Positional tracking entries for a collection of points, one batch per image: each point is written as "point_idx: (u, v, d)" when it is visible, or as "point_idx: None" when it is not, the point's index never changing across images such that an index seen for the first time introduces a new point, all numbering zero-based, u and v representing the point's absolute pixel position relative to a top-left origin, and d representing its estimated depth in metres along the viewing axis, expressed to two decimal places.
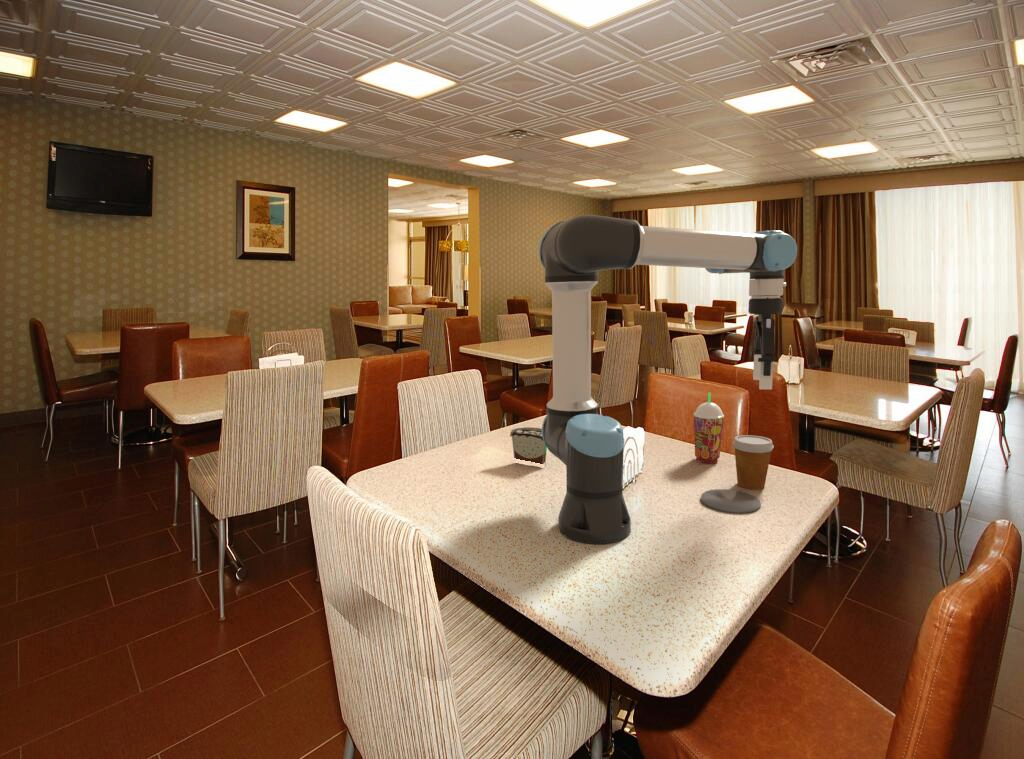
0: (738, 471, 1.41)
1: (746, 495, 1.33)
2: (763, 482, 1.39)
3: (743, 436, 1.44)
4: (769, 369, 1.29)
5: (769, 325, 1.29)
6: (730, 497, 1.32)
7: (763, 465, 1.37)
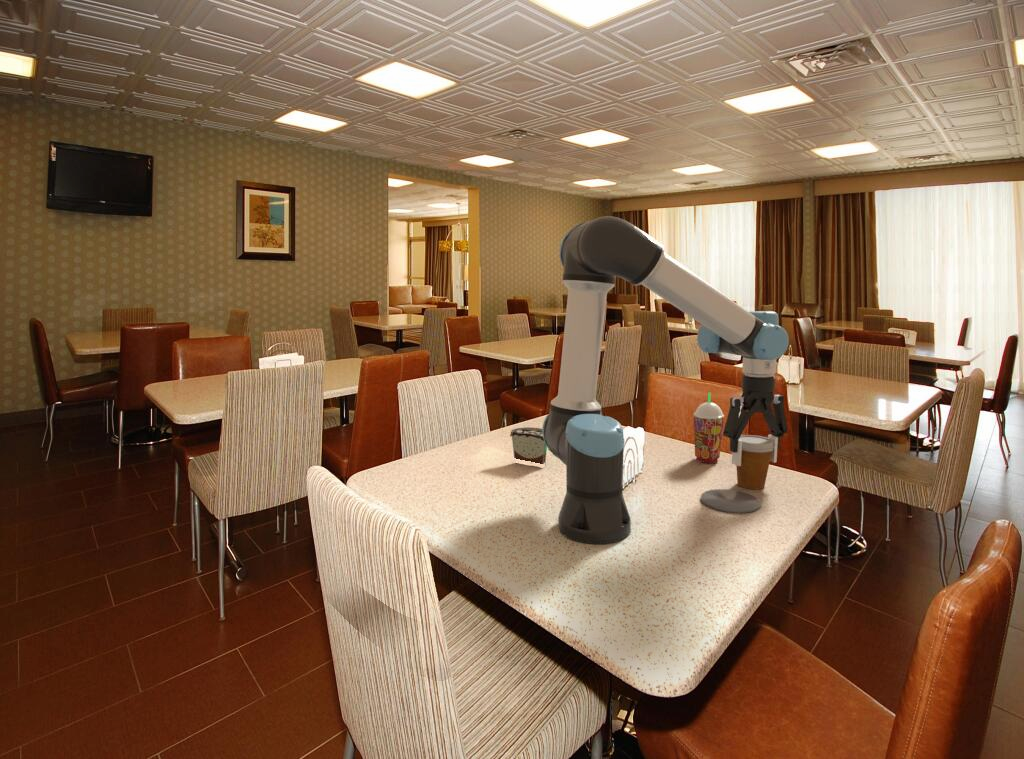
0: (738, 471, 1.41)
1: (746, 495, 1.33)
2: (763, 481, 1.39)
3: (744, 436, 1.44)
4: (732, 446, 1.38)
5: (733, 404, 1.36)
6: (730, 497, 1.32)
7: (763, 465, 1.37)
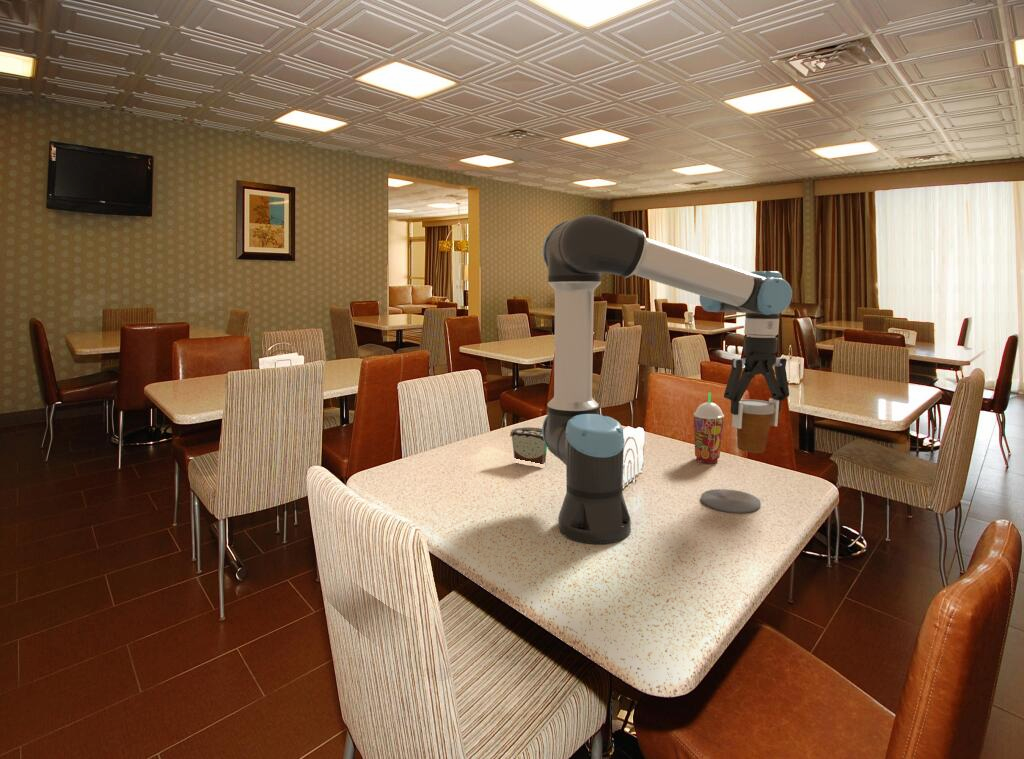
0: (739, 434, 1.39)
1: (746, 495, 1.33)
2: (764, 445, 1.37)
3: (745, 400, 1.42)
4: (733, 408, 1.36)
5: (735, 365, 1.35)
6: (730, 497, 1.32)
7: (764, 428, 1.35)
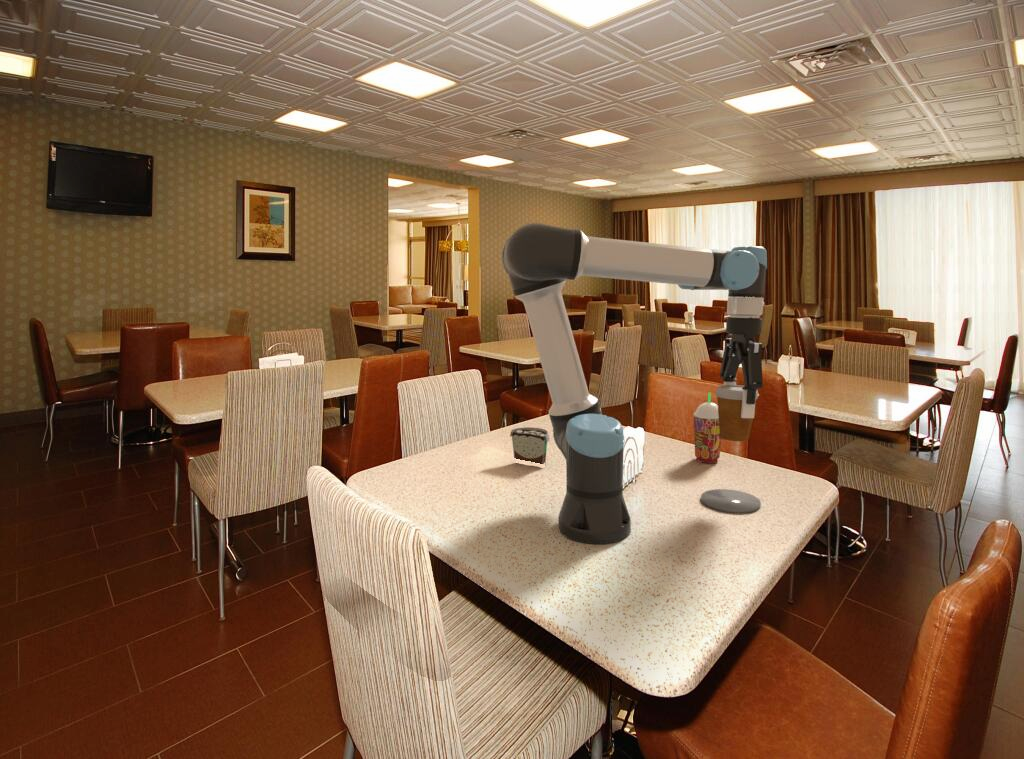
0: (740, 425, 1.27)
1: (746, 495, 1.33)
2: None
3: None
4: (754, 397, 1.23)
5: (757, 350, 1.21)
6: (730, 497, 1.32)
7: None
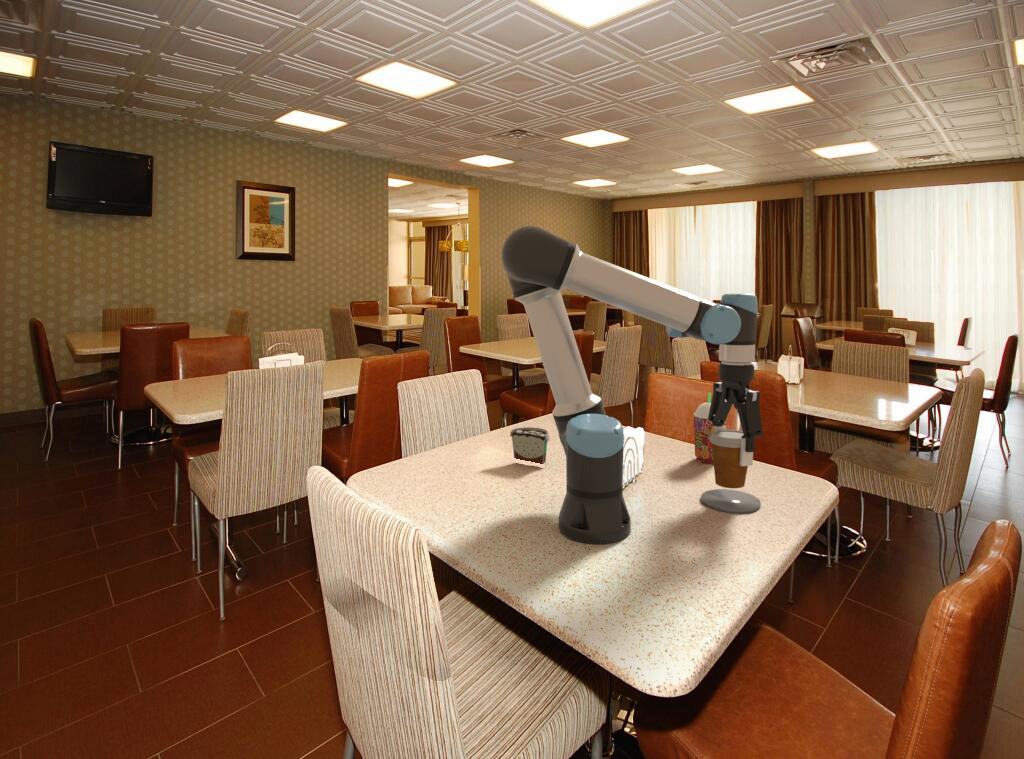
0: (738, 472, 1.26)
1: (746, 495, 1.33)
2: None
3: (716, 435, 1.27)
4: (753, 445, 1.22)
5: (755, 398, 1.20)
6: (730, 497, 1.32)
7: None
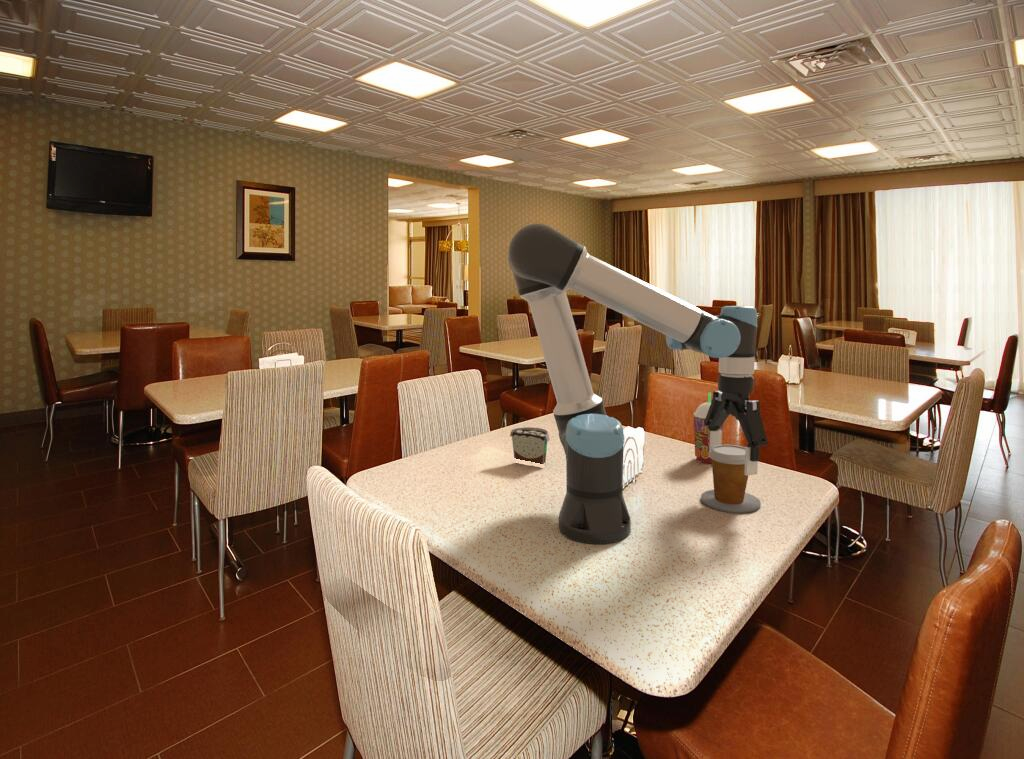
0: (737, 488, 1.26)
1: (746, 495, 1.33)
2: None
3: (716, 451, 1.28)
4: (758, 454, 1.21)
5: (755, 407, 1.21)
6: None
7: None
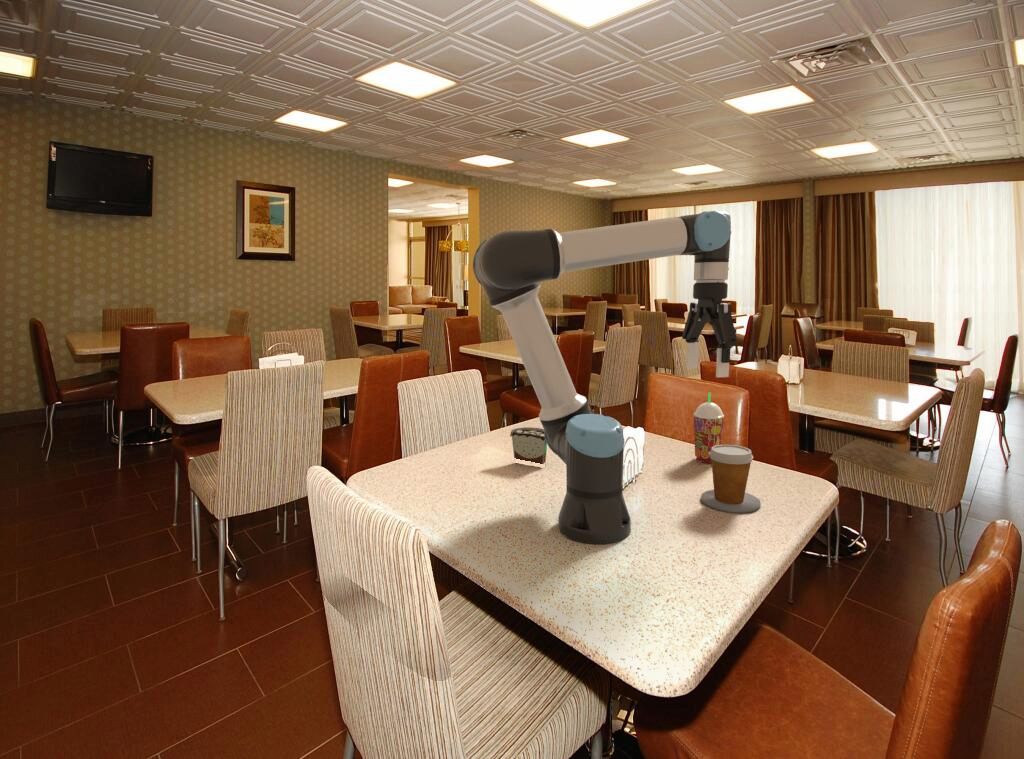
0: (737, 488, 1.26)
1: (746, 495, 1.33)
2: None
3: None
4: (729, 356, 1.23)
5: (726, 310, 1.23)
6: None
7: None
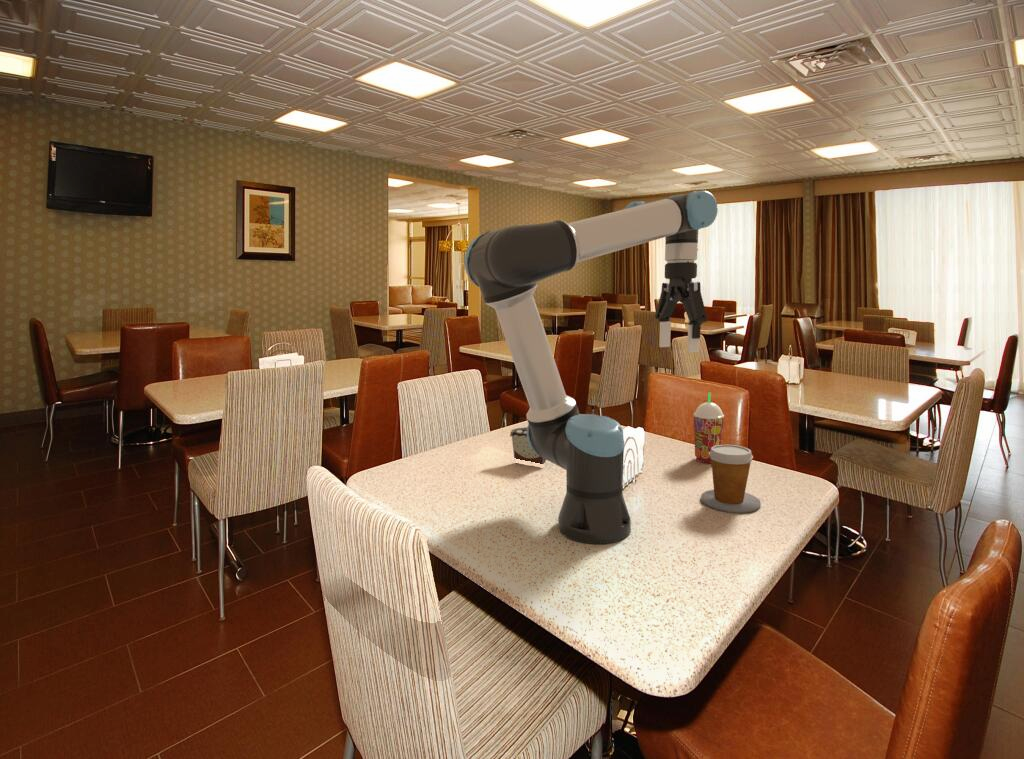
0: (737, 488, 1.26)
1: (746, 495, 1.33)
2: None
3: None
4: (699, 331, 1.30)
5: (696, 288, 1.29)
6: None
7: None
